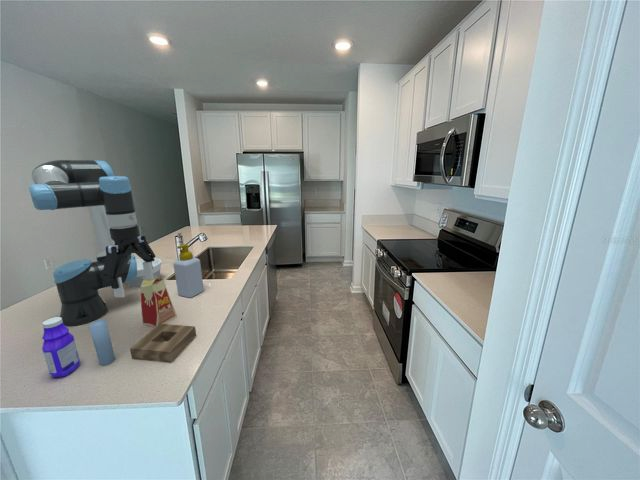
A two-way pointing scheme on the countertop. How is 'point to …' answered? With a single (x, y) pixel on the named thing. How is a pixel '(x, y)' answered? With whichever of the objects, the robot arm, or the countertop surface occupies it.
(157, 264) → the bowl
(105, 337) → the peg
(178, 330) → the socket block
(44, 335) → the bottle
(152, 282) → the milk carton
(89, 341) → the countertop surface
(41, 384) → the countertop surface
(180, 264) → the soap bottle
